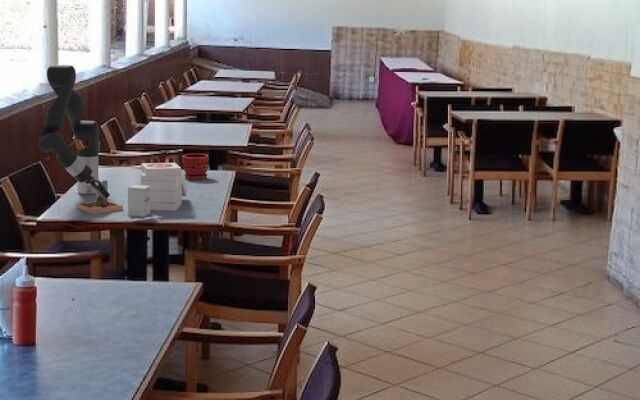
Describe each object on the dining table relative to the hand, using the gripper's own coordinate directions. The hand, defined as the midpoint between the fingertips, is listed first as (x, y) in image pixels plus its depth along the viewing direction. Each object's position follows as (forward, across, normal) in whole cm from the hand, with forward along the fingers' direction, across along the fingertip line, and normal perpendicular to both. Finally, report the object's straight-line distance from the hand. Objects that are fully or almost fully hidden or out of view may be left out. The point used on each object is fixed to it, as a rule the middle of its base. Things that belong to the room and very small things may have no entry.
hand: (106, 195), depth 427 cm
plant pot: (+53, +56, -44) cm, 89 cm away
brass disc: (-1, -6, +8) cm, 11 cm away
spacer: (+2, 0, +5) cm, 5 cm away
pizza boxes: (+24, +1, -14) cm, 28 cm away
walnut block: (-2, 0, +10) cm, 10 cm away
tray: (+2, -2, +7) cm, 8 cm away
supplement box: (+10, -19, 0) cm, 21 cm away
